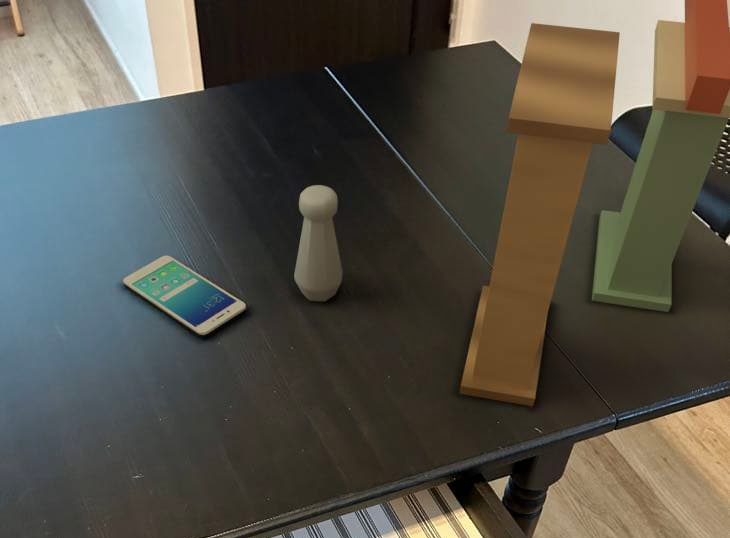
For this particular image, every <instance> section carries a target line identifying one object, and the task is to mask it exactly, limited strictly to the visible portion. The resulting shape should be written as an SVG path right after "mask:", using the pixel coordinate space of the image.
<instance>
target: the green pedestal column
mask: <svg viewBox="0 0 730 538" xmlns="http://www.w3.org/2000/svg"><path fill="white" fill-rule="evenodd" d="M729 32H730V26H729ZM653 44H654V46H653V72H652V73H653V76H652V77H653V79H652V106H651V108H652V111H651V115H650V118H649V120H648V123H647V128H646V129H645V130H646V131H645V133H644V136H643V140H642V143H641V146H640V149H639V152H638V156H637V159H636V162H635V164H634V165H635V166H634V168H633V172H632V174H631V178H630V181H629V184H628V187H627V191H626V193H625V197H624V199H623V203H622V206H621V210H620V211H619V212H618V211H612V210H606V209H605V210H604V209H602V210H600V211H601V212H600V215H599V219H598V220H599V221H598V230H597V241H596V251H595V252H596V253H595V262H594V271H593V272H594V273H593V281H592V292H591V293H592V294H591V301H592V302H598V303H604V304H611V305H619V306H624V307H625V306H626V307H631V308H637V309H644V310H650V311H656V312H664V313H669V312H670V309H671V307H672V304H673V303H672V302H673V301H672V296H673V295H672V292H673V291H672V290H673V289H672V285H673V282H672V281H673V280H672V278H673V277H672V275H673V274H672V271H673V270H672V269H673V268H672V267H673V266H672V265H673V262H674V259H675V256H676V254H677V252H678V249H679V247H680V244H681V241H682V239H683V236H684V234H685V232H686V229H687V226H688V224H689V221H690V218H691V216H692V213H693V211H694V208H695V206H696V203H697V201H698V197H699V196H700V194H701V190H702V188H703V185H704V183H705V181H706V178H707V176H708V172H709V170H710V168H711V165H712V164H713V163H712V162H713V160H714V158H715V155H716V153H717V150H718V147H719V145H720V142H721V140H722V137H723V135H724V132H725V129H726V127H727V125H728V122H729V120H730V90H729V92H728V95H727V98H726V100H725V103H724V105H723V108H722V111H721V113H720V114H715V113H706V112H698V111H690V110H686V103H685V21H684V22H683V21H674V20H673V21H672V20H665V19H664V20H663V19H658V20H657V23H656V26H655V29H654V43H653Z"/></svg>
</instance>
